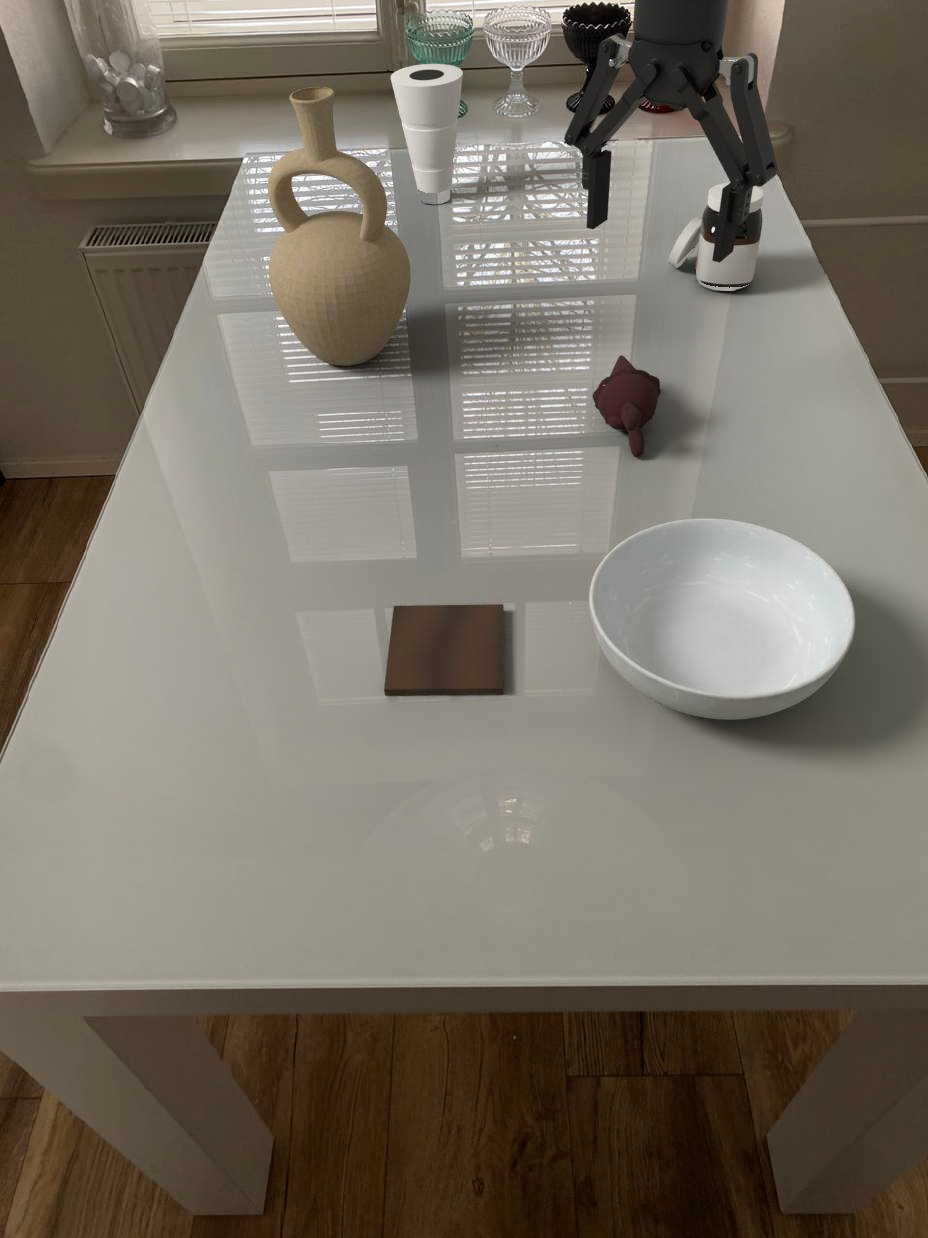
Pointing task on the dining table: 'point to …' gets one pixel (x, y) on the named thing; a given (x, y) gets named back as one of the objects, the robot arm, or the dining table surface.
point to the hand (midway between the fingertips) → (657, 239)
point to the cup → (429, 120)
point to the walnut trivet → (446, 650)
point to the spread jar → (732, 268)
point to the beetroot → (628, 401)
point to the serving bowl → (720, 617)
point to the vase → (334, 248)
